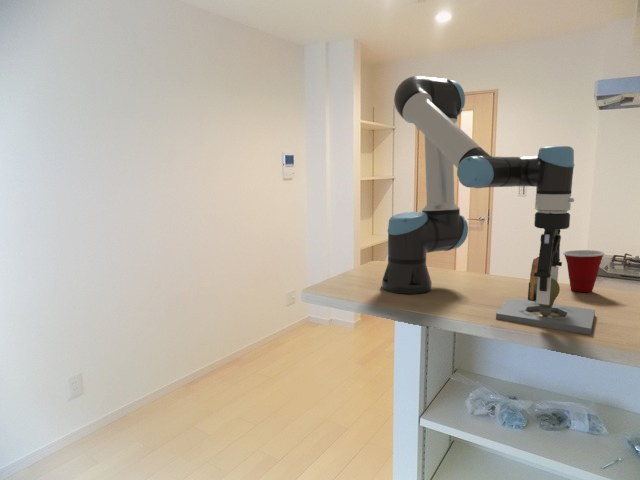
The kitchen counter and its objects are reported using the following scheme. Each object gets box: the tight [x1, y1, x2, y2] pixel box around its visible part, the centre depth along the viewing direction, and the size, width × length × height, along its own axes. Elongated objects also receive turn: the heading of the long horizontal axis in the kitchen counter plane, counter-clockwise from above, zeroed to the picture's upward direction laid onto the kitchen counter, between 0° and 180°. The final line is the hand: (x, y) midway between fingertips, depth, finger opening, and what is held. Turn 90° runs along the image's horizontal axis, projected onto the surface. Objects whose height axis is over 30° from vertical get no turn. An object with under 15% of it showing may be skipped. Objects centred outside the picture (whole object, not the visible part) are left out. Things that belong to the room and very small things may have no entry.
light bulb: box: [534, 278, 560, 317], centre depth 108 cm, size 6×6×10 cm
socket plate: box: [495, 297, 596, 336], centre depth 109 cm, size 20×16×2 cm
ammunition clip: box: [527, 256, 539, 301], centre depth 126 cm, size 11×2×12 cm, turn 139°
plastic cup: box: [562, 249, 605, 293], centre depth 132 cm, size 11×11×12 cm
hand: (546, 297), depth 108 cm, fingers open, 13 cm apart
